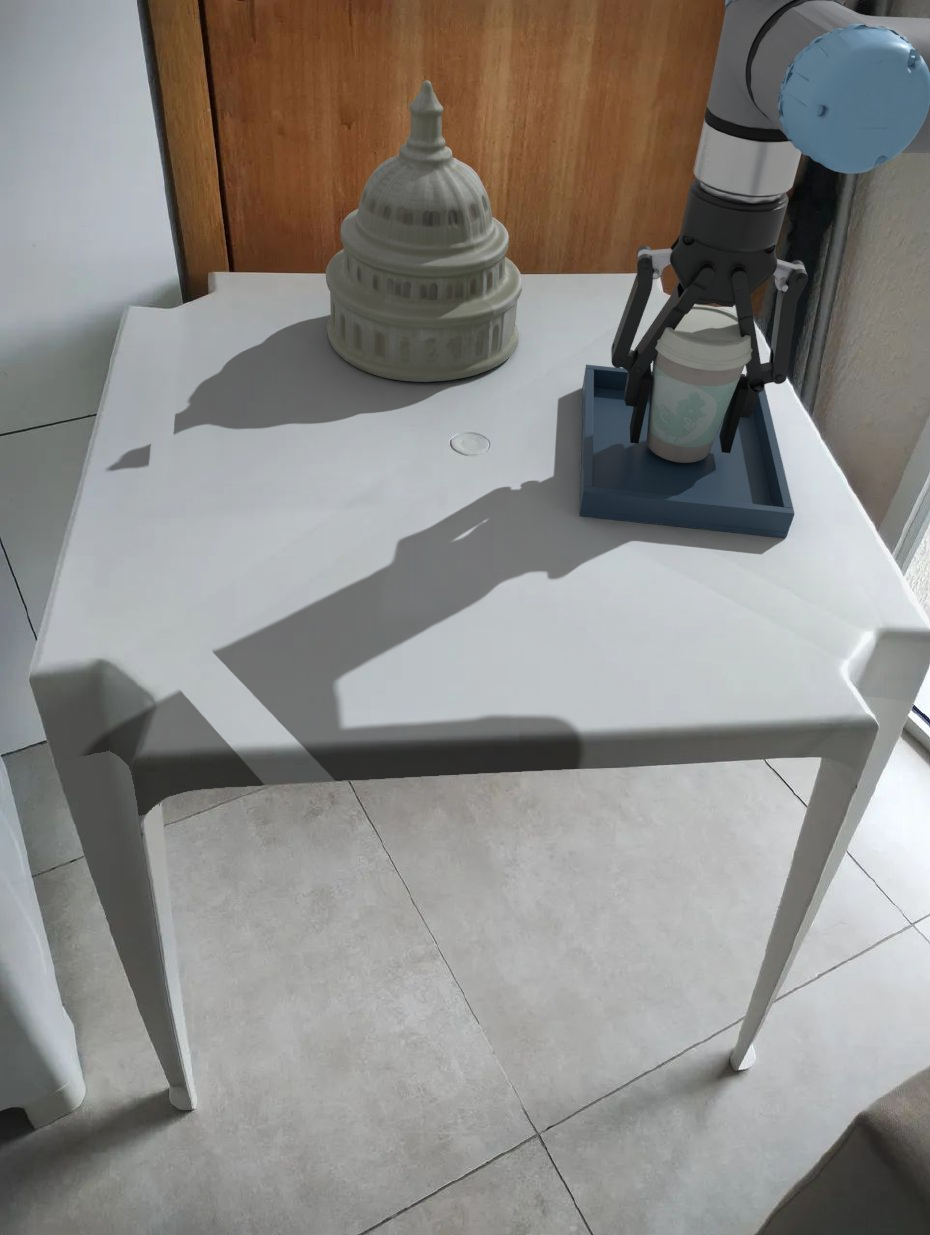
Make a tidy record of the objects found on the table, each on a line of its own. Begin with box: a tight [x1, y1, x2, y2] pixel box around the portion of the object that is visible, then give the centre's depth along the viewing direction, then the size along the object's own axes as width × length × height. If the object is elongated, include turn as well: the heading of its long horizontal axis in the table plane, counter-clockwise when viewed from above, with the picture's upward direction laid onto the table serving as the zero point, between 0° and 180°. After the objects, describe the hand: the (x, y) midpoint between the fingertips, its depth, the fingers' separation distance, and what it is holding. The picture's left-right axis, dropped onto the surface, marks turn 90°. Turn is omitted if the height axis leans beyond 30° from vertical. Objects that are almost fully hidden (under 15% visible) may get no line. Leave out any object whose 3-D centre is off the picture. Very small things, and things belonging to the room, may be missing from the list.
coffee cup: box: [647, 304, 752, 463], centre depth 88 cm, size 8×8×12 cm
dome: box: [325, 80, 523, 383], centre depth 98 cm, size 20×25×20 cm
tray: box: [578, 364, 795, 539], centre depth 92 cm, size 22×18×3 cm
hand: (679, 439), depth 92 cm, fingers closed on coffee cup, 8 cm apart
